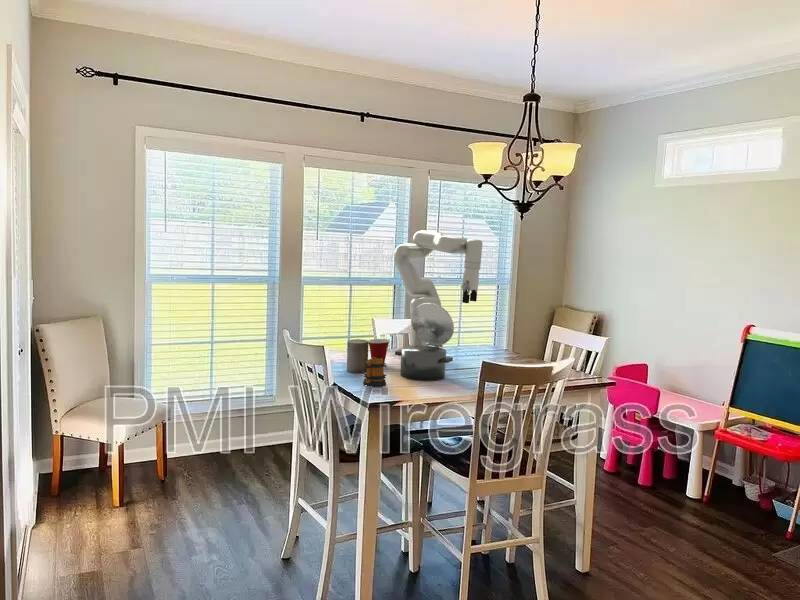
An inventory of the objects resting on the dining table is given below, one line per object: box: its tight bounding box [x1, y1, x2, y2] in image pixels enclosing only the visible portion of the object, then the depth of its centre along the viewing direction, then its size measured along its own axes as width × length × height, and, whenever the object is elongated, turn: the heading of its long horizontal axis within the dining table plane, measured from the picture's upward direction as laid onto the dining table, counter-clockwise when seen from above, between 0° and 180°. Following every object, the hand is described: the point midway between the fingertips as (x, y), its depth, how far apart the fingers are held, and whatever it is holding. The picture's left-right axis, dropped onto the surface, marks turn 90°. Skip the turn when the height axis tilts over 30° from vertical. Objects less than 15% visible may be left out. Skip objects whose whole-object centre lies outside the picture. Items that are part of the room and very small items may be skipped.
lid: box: [410, 303, 455, 348], centre depth 286 cm, size 21×22×3 cm
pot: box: [394, 345, 454, 382], centre depth 281 cm, size 26×20×12 cm
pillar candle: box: [346, 338, 369, 374], centre depth 284 cm, size 10×10×15 cm
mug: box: [362, 357, 387, 388], centre depth 259 cm, size 13×10×12 cm
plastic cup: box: [367, 338, 391, 363], centre depth 300 cm, size 11×11×12 cm
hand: (469, 302), depth 295 cm, fingers open, 9 cm apart
